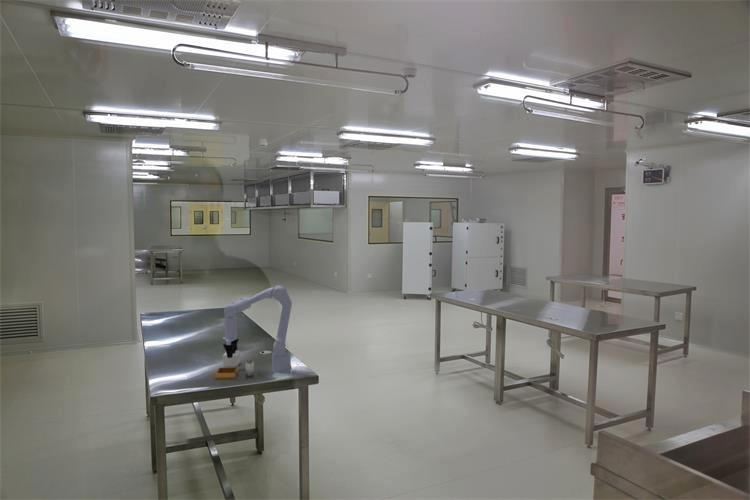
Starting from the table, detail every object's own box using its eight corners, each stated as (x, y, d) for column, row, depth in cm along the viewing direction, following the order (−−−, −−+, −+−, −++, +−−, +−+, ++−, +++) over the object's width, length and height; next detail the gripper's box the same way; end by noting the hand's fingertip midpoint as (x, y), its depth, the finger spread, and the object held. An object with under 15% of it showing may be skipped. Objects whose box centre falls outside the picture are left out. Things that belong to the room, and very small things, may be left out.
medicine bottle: (240, 364, 259) (239, 342, 259) (236, 368, 252) (236, 345, 252) (226, 364, 259) (226, 342, 258) (222, 368, 252) (222, 345, 251)
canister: (254, 373, 241) (254, 359, 241) (253, 375, 237) (253, 361, 237) (246, 373, 241) (246, 359, 240) (244, 376, 237) (244, 362, 236)
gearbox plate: (259, 372, 246) (259, 365, 246) (256, 380, 233) (256, 373, 233) (219, 373, 244) (219, 366, 244) (213, 382, 231) (213, 374, 231)
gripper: (225, 325, 247) (226, 351, 248) (219, 332, 233) (220, 360, 234) (239, 325, 248) (240, 351, 249) (234, 331, 234) (234, 359, 235)
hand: (231, 355), depth 242 cm, fingers open, 7 cm apart
